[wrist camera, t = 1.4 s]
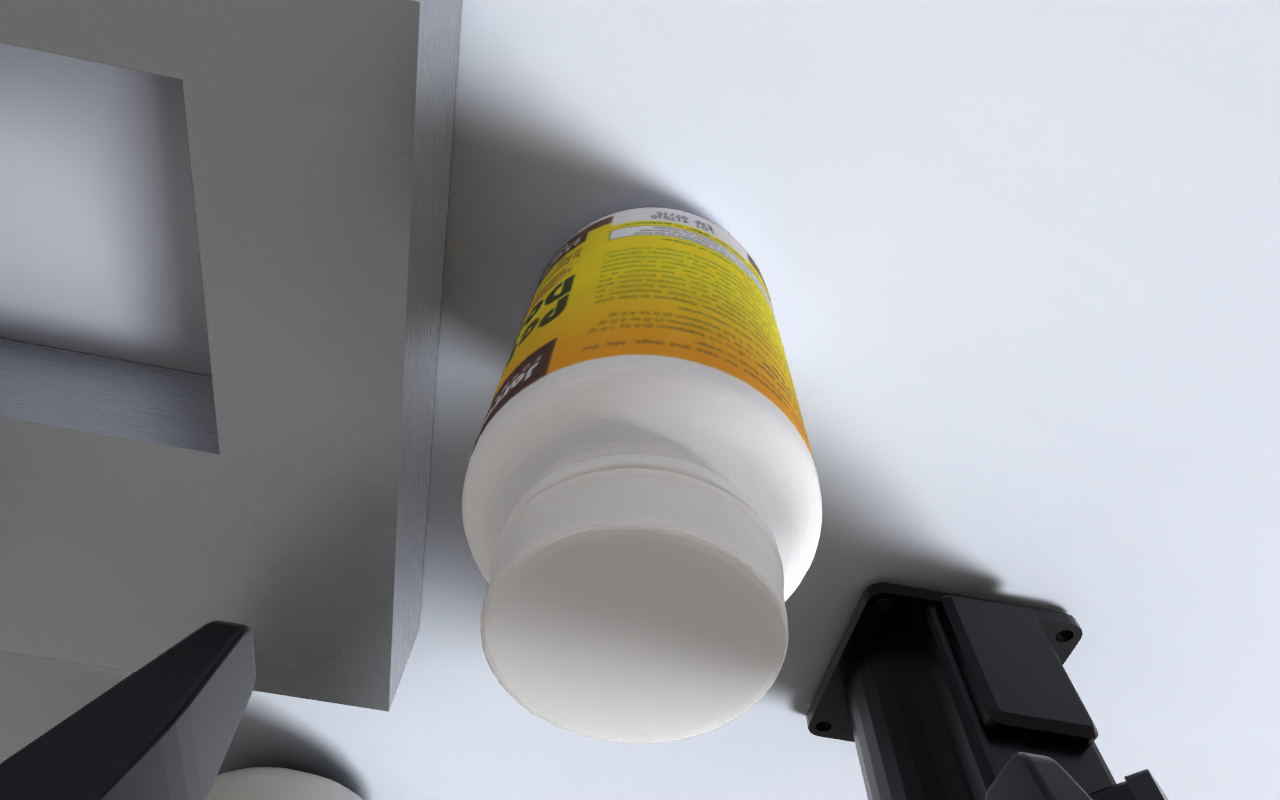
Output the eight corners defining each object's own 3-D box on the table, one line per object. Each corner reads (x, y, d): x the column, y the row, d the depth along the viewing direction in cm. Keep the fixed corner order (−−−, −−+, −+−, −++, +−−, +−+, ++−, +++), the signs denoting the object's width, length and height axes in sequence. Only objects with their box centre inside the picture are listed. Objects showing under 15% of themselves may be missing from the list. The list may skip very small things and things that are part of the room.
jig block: (418, 629, 24) (388, 711, 22) (-118, 542, 23) (-216, 618, 21) (462, -9, 15) (420, 2, 13) (-413, -200, 14) (-655, -231, 12)
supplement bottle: (567, 167, 17) (454, 411, 8) (805, 240, 18) (941, 540, 9) (513, 380, 20) (386, 736, 11) (722, 437, 20) (761, 815, 12)
